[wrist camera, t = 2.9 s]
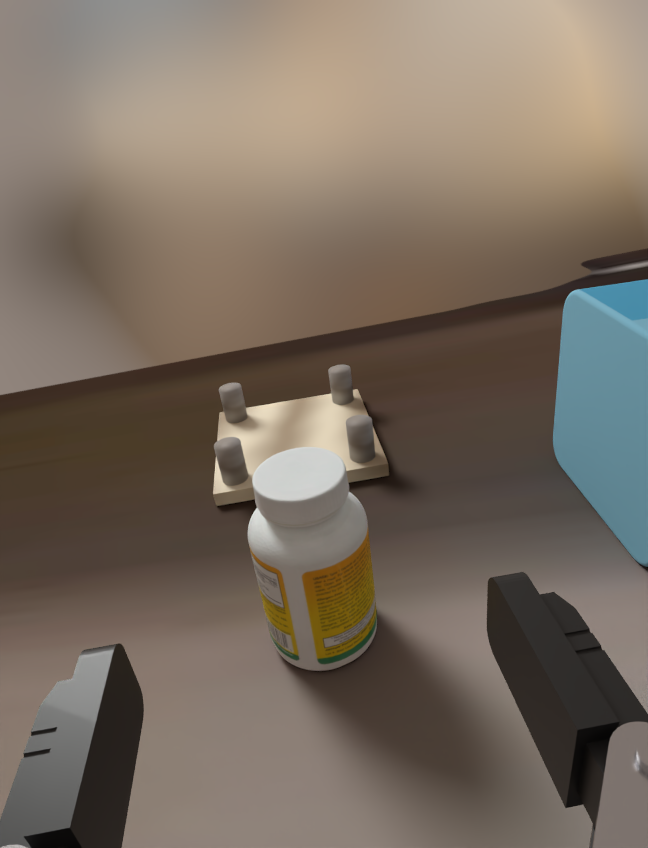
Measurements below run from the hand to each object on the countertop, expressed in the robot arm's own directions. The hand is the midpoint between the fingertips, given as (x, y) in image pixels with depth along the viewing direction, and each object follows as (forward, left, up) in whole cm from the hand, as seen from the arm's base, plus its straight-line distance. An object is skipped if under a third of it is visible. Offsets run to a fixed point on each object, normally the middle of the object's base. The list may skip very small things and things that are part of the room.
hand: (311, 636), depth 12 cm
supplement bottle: (0, -11, -13) cm, 17 cm away
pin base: (0, -29, -13) cm, 32 cm away
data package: (-19, -16, -13) cm, 28 cm away
